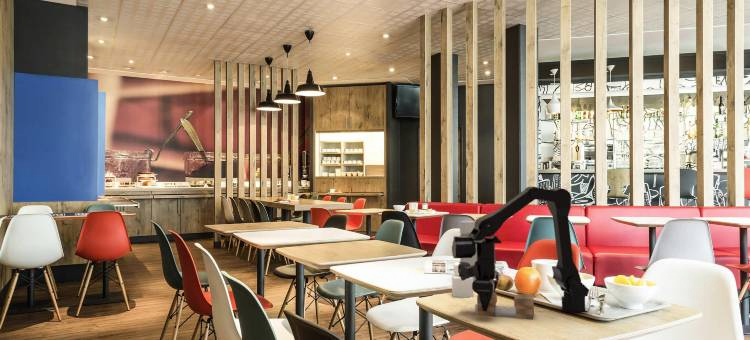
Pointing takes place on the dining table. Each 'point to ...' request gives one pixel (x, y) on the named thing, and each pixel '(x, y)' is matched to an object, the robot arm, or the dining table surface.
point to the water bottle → (465, 231)
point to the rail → (502, 311)
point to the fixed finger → (524, 306)
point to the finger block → (490, 308)
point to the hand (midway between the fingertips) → (486, 307)
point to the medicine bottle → (461, 282)
